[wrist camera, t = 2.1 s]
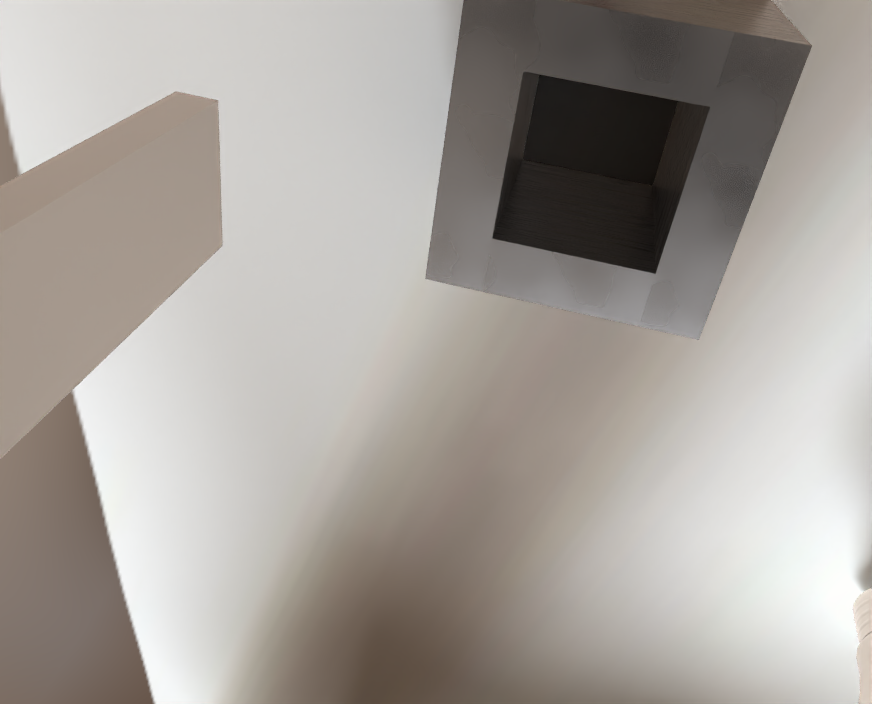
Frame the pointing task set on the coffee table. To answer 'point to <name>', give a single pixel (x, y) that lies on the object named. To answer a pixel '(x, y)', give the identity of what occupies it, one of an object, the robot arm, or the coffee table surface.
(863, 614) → the lightbulb
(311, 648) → the coffee table surface
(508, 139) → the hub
